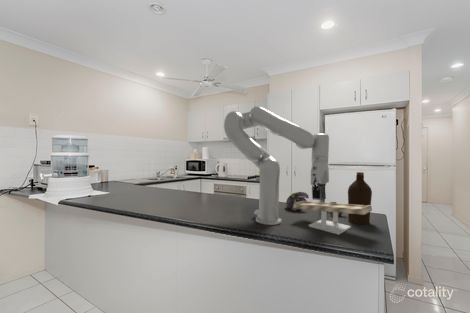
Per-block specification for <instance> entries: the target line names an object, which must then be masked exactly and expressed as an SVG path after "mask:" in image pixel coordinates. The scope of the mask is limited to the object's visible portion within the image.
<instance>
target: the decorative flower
mask: <svg viewBox="0 0 470 313" xmlns="http://www.w3.org/2000/svg"><path fill="white" fill-rule="evenodd" d="M307 199H309V194H308V193H307V192H304V191H298V192H294V193H291V194H290V195H289V196H288V197H287V198H286V200H285V201H286V202H285V203H286V204H285V210H287V211H289V210H290V211H291V212H293V213H296V212H297V210H299V211H301V210H302V209H298V208H294V204H295V203H296V202H300V201H308V200H307Z"/></svg>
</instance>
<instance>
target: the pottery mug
mask: <svg viewBox="0 0 470 313" xmlns="http://www.w3.org/2000/svg"><path fill="white" fill-rule="evenodd" d="M329 203H337V202H335V201H330V202H329ZM342 215H343V213H340V212H338V218H339V217H342ZM330 216H331V217H332V218H333V212H330Z"/></svg>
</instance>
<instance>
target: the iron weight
mask: <svg viewBox="0 0 470 313" xmlns="http://www.w3.org/2000/svg"><path fill="white" fill-rule="evenodd" d="M319 190H320V198H319V199H317V198H313V189H312V188H311V196H312V197H311V199H312V200H317V201H324V200H326V199H327V198H326V196H327V195H326V185H325V186H319Z"/></svg>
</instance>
